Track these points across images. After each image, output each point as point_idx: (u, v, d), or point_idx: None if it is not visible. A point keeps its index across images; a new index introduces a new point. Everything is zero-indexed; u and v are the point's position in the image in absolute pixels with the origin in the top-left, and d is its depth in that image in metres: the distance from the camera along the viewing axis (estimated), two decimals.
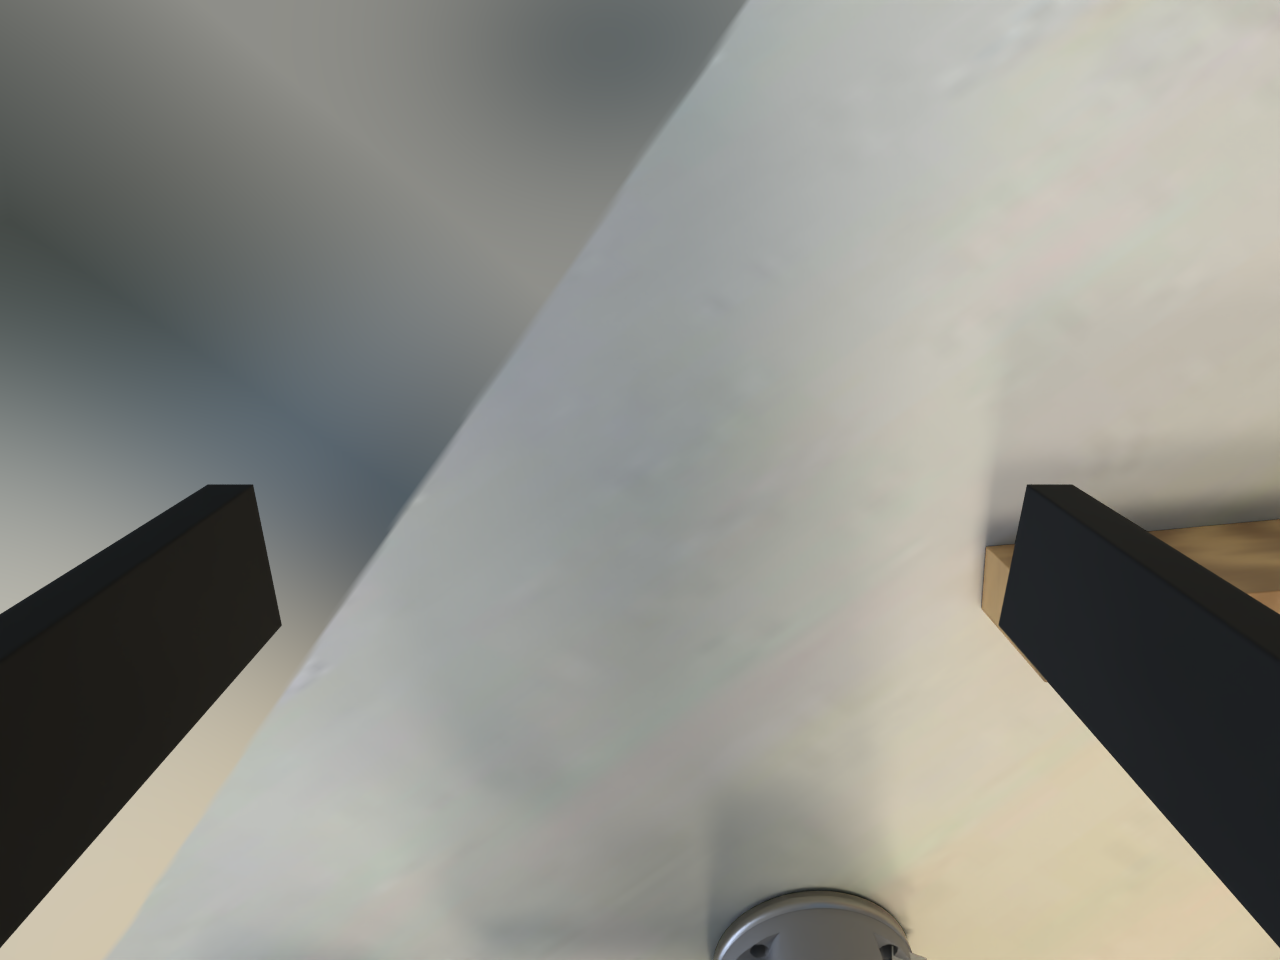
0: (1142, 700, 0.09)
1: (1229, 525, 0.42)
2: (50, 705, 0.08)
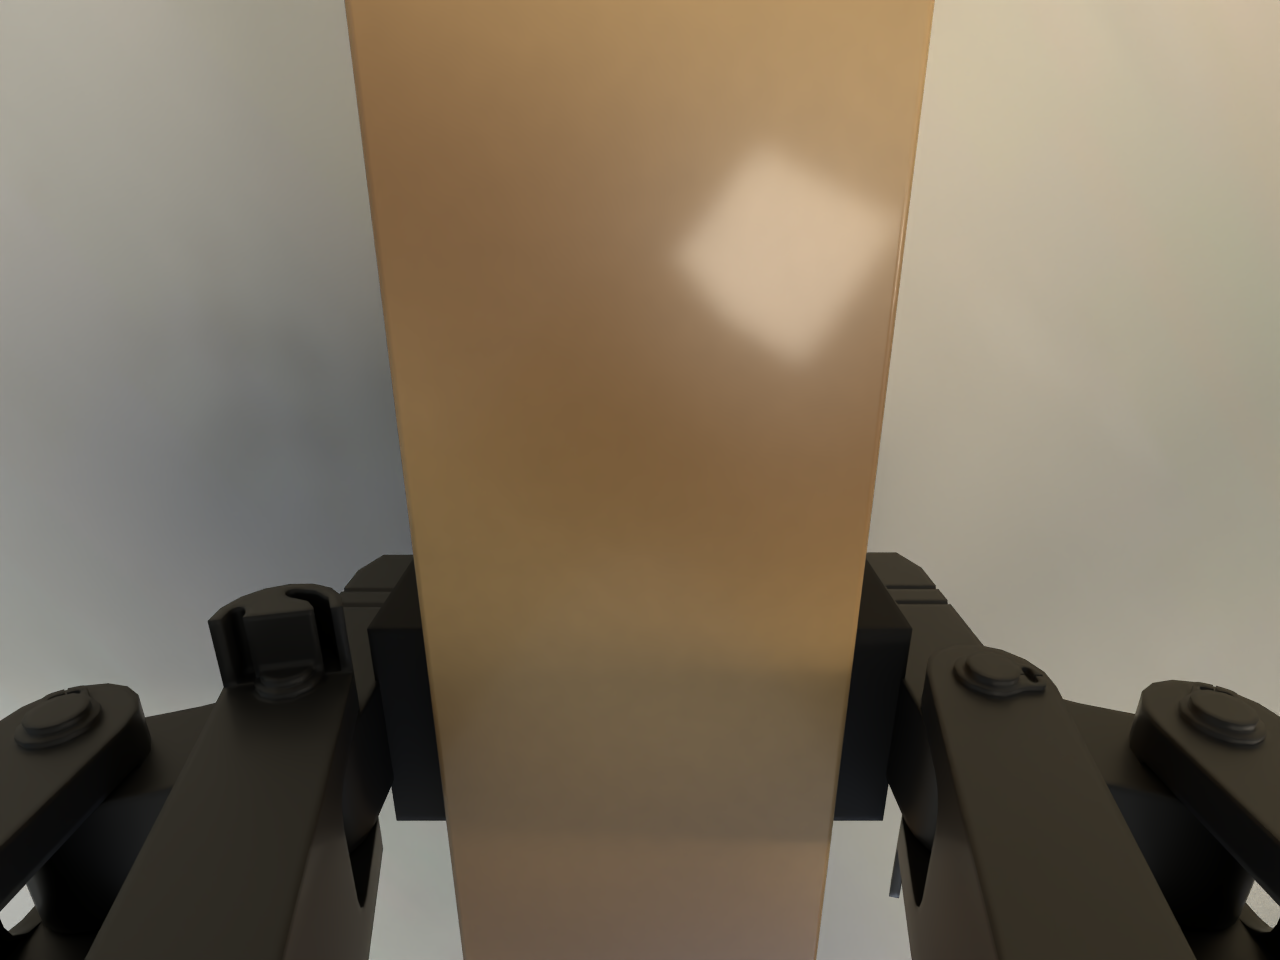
0: None
1: None
2: None
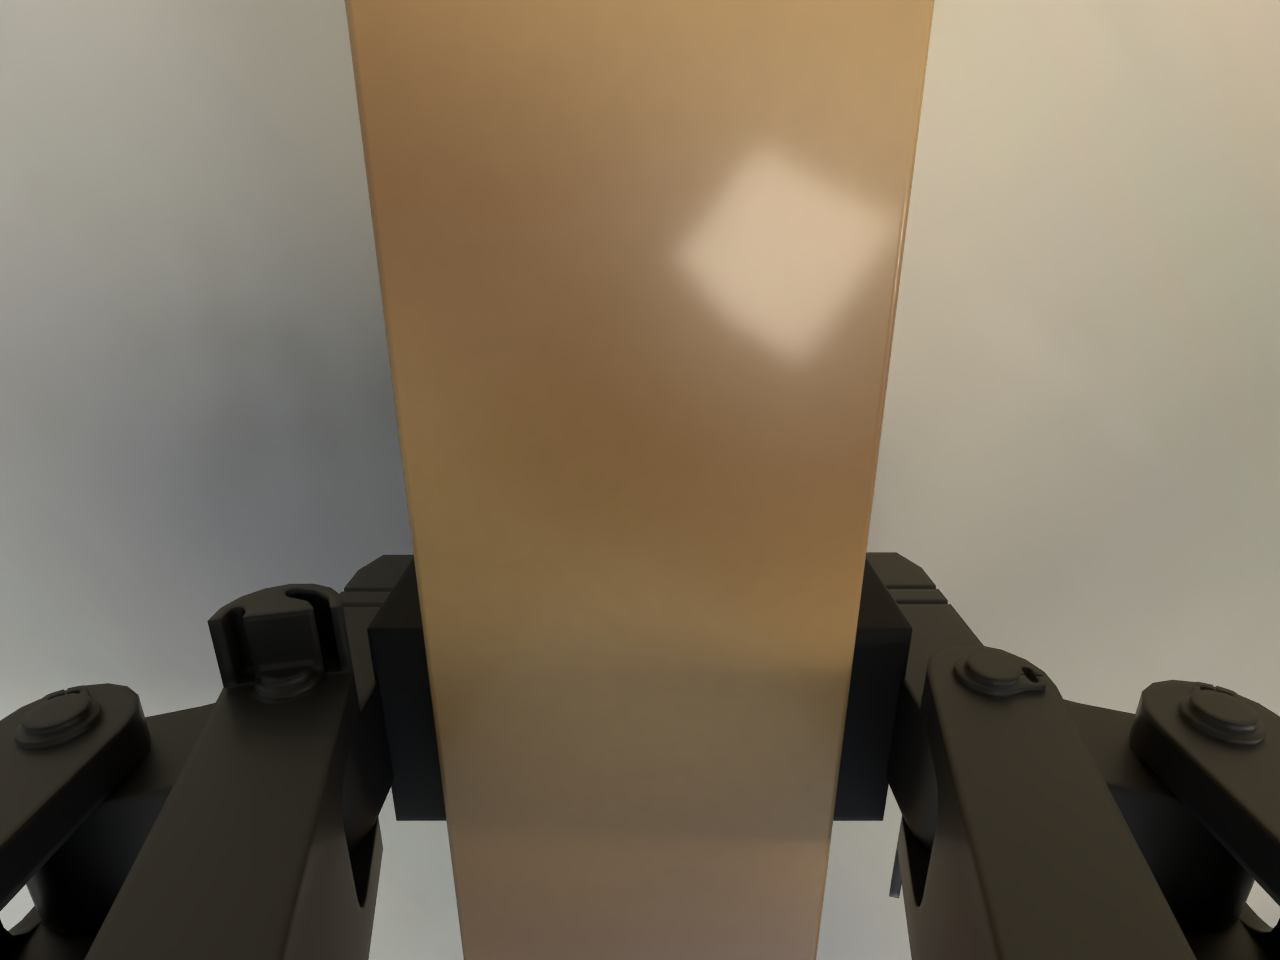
0: None
1: None
2: None
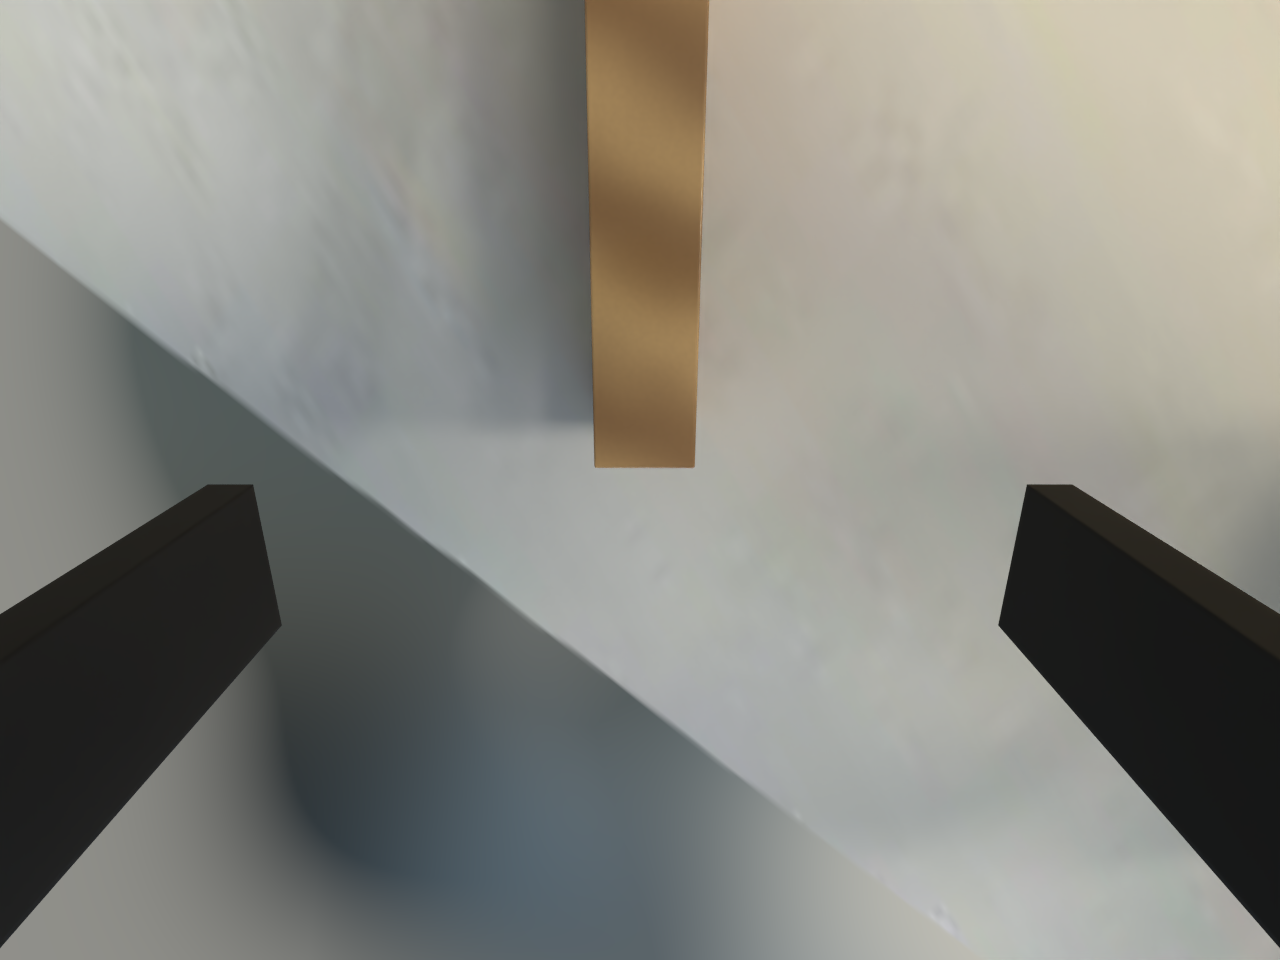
0: (1142, 700, 0.09)
1: None
2: (51, 705, 0.08)
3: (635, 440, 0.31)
